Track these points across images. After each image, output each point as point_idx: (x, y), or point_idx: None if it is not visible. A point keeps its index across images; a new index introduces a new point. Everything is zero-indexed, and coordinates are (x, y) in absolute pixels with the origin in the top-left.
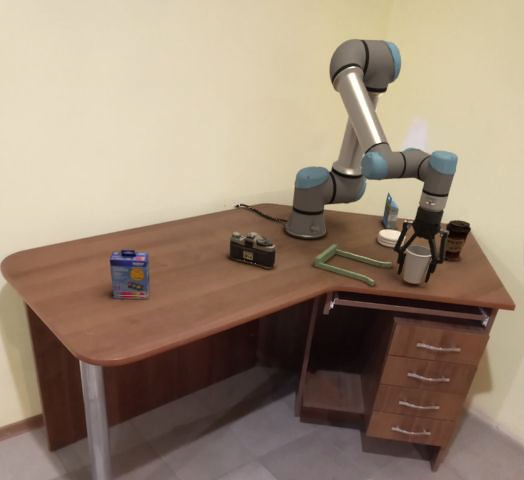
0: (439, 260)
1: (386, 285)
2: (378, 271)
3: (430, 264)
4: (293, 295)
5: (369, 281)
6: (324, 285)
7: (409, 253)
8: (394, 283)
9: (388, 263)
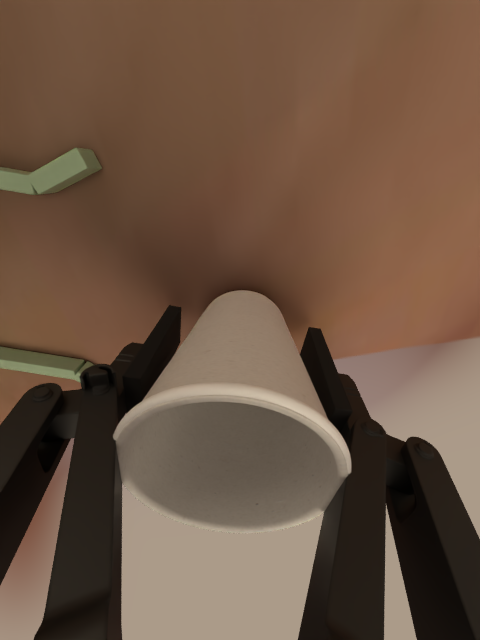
0: (387, 493)
1: None
2: (78, 255)
3: None
4: None
5: None
6: None
7: (168, 499)
8: (181, 336)
9: (72, 175)
